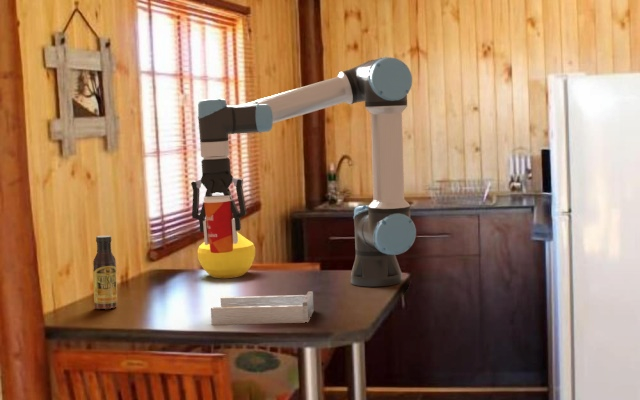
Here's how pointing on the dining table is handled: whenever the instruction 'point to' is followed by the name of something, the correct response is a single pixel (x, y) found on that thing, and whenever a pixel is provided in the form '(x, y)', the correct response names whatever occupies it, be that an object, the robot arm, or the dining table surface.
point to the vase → (228, 259)
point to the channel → (263, 309)
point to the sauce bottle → (104, 275)
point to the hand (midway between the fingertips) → (221, 243)
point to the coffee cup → (219, 222)
